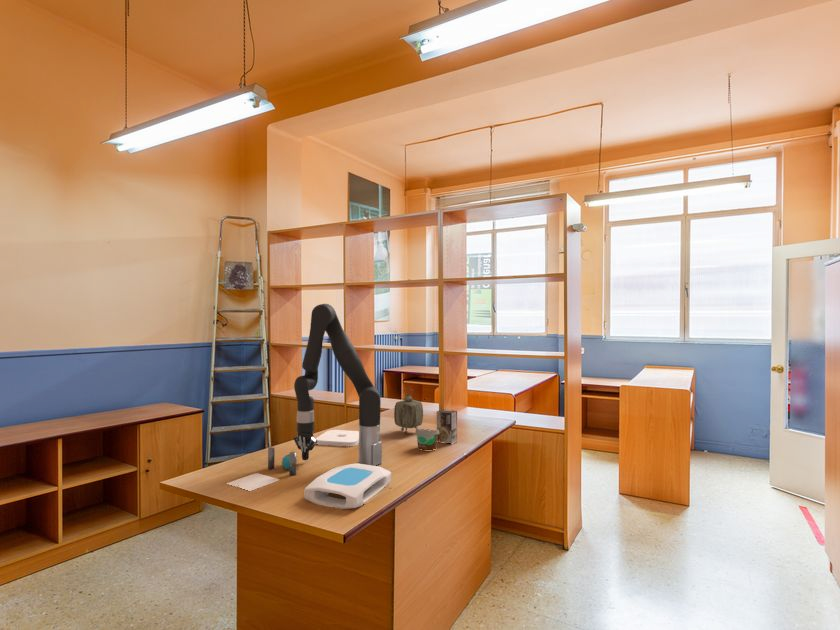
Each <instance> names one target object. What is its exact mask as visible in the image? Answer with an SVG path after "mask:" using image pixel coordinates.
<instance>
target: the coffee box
mask: <svg viewBox="0 0 840 630" xmlns="http://www.w3.org/2000/svg"><path fill="white" fill-rule="evenodd" d="M438 429H439V433H440V434H438V441H440V442H447V443H453V442H455V441H457V442H458V411H457V410H451V409H445V408H444V409H439V410H437V411H436V430H438Z"/></svg>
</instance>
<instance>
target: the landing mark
mask: <svg viewBox="0 0 840 630" xmlns="http://www.w3.org/2000/svg"><path fill="white" fill-rule="evenodd" d="M278 481H280V479H279V478H276V477H271V476H269V475H265V474H261V473H258V472H256V473H255V472H254V473H252V474H250V475H246V476H244V477H240V478H238V479H235V480H232V481H230V482H227V483H225V484H226V485H228V484H229V485H228V486H231V485H232V486H231V487H234V486H235V487H234V488H237V487H236V486H238V485H239V486H238V487H240V488H242V489H241V490H243V489H245V490H244V491H246V490H248V491H247V492H249V491H250V492H253V491H256V490H257V488H258V489H261V488H263V487H265V486H268V485H271V484H275V483H276V482H278ZM240 488H239V489H240ZM252 490H253V491H252Z"/></svg>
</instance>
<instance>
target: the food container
mask: <svg viewBox="0 0 840 630" xmlns="http://www.w3.org/2000/svg"><path fill="white" fill-rule="evenodd" d="M415 434H416V438H417V448H419V449H422V450H433V449H436V448H437V447H438V442H437V441H438V434H440V433H439V429H438V430H437V429H436V430H433V429H428V428H426V429H425V428H422V429H421V428H418V427H417V428H415ZM419 449H418V450H419ZM437 449H438V448H437Z"/></svg>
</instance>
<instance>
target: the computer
mask: <svg viewBox="0 0 840 630" xmlns="http://www.w3.org/2000/svg"><path fill="white" fill-rule="evenodd" d="M314 439H315V440H317V443H316V444H318V445H317V446H328V445H330V446H332V447H342V446H346V447H345V448H350V447H349V446H353V447H356V446H357V445H359V444H358V443H359V430H343V429H331V430H330V429H329V430H327V431H325V432H323V433H322V434H321V435H318V436H317V437H315V438H314ZM355 445H356V446H355ZM347 446H348V447H347Z"/></svg>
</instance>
